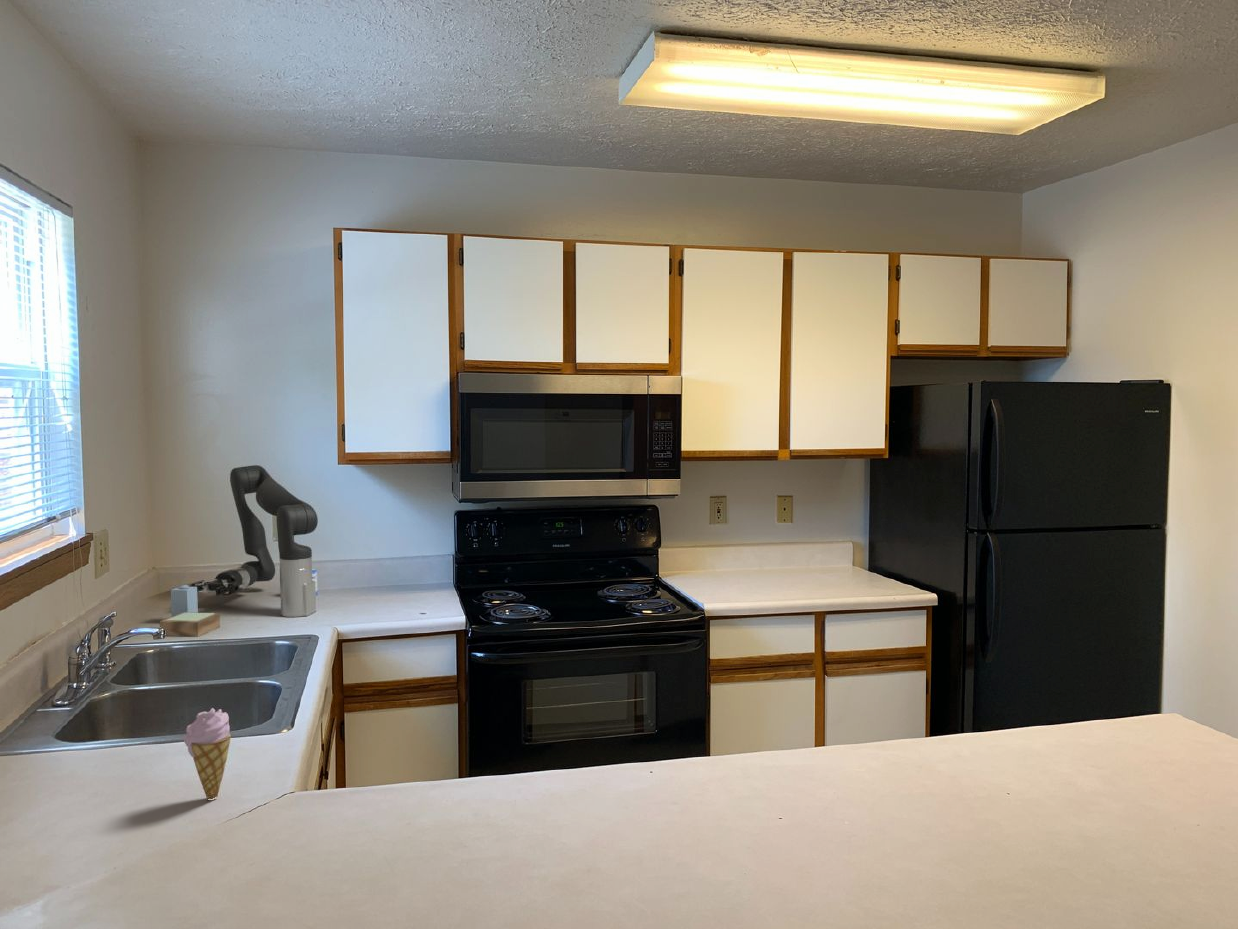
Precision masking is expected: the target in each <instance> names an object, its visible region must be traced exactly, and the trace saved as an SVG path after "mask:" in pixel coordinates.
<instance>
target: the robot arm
mask: <svg viewBox="0 0 1238 929" xmlns="http://www.w3.org/2000/svg"><path fill="white" fill-rule="evenodd" d="M229 483H230V487H231V492H232V496H233V500H234V504H235V508H236V512H237V515H238V518H239V522H240V526H241V533H242V539H243V546H244V547H243V548H244V552H245V554H246V555H248V556H253V557H255V558H256V559H257V560H250V561H246V562H244V563H243V564H242V565H240V566H239V567H234V568H230V569H228V570H224V571H222V572H220V573H218V574H217V575H216V576H215V577H214V579H212V580H204V579H202V580H199V581H196V582H193V583H191V584H190V587H197V594H199V593H204V594H208V593H215V596H217V597H218V596H222V595H223V596H230V595H233V594H235V593H237V592H240V591H242V590H244V589H246V588H248V587H250V586H252V585H254V583H256V582H258V583H259V582H270V581H271V580H273V579H274V577H275V575H276V566H275V562H274V560H273V558H272V556H271V554H270V551H269V549H268V546H267V545H268V544H267V537H266V531H265V527H264V524H263V523H262V521H261V520H260V519H259V518H258V517H257V515H255V513H254V512H253V511H252V509H251V508H250V507H249V505H248V502H247V500H246V496H245V495H247V494H250V495H251V494H255V501H256V503H257V505H258V506H259V507H260V508H261V509H262V510H263V511H265V512H266V513H267V514H269V515H271V516H274V517H276V520H275V521H276V532H277V534H276V535H277V547H278V553H279V554H278V555H279V558H278V559H279V586H280V587H279V588H280V590H279V592H280V593H279V594H280V615H281V616H283V617H288V618H295V617H296V618H298V617H308V616H310V615H312V614H313V613H316V612H317V604H316V603H317V602H316V600H317V599H316V597H317V595H316V593H315V581H312V569H313V551H312V548H311V547H310V546H307V545H303V544H300V543H297V542H296V541H295V540H294V536H302V535H308V534H311V533H313V532H314V531H316V529H317V527H318V522H319V521H318V514H317V512H316V510H315V509H314V507H313V506H312V505H310V504H309V503H308V502H305V501H304V500H301V499H299V498H298V497H296V496H295V495H293V494H292V493H291V492H289V490H287V489H286V488H285V487H284V486H282V485H281V484H280V483H279V482H277V481H276V480H275V479H274V478H273V477H272V476H271V475H270V474H269V473H268V471H267V470H266V469H265V468H264V467H263V466H262V465H256V464H254V465H245V466H240V467H234V468H231V471H230V474H229Z"/></svg>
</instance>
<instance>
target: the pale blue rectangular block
mask: <svg viewBox="0 0 1238 929" xmlns="http://www.w3.org/2000/svg"><path fill="white" fill-rule="evenodd" d="M198 602H199V601H198V593H197V587H191V586H189V585H188V584H181V585H179V586H178V587H176V588H172V589H170V603H171V604H170V605H171V606H170V608H171V612H170V613H171V617H173V616H175V615H178V614H180V613H183V612H193V613H199V608H198V607H199V606H198V604H199V603H198Z"/></svg>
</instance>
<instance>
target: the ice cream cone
mask: <svg viewBox="0 0 1238 929" xmlns="http://www.w3.org/2000/svg"><path fill="white" fill-rule="evenodd" d="M195 717H196V719H195V720H194V721H193V722H192V723H191V724H188V725H187V726H186V730H185V731H186V733H185V734H184V736H183V742H184V744H185V746H186V747H187V752H188V754H189V756H191V757H192V758H193V762H194V766H195V769H196V772H197V774H198V777H199V780H200V784H201V786H202V789H203V791H204V794H205V797H206V799H213V798H215V797H217V798H218V795H219V792H220V789H221V784H222V781H223V776H224V773H225V772H224V771H225V768H226V763H227V760H228V759H227V758H228V754H229V748H230V742H231V735H232V734H231V733H230V730H231V728H230V727H231V726H230V723H229V721H230V718H229V714H228V713H227V712H226V711H225V712H223V710H222V709H220V708H219V709H218V710H215V709H214V707H212V708H210V710H209V711H202V712H198V713H197V715H196V716H195Z"/></svg>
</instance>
